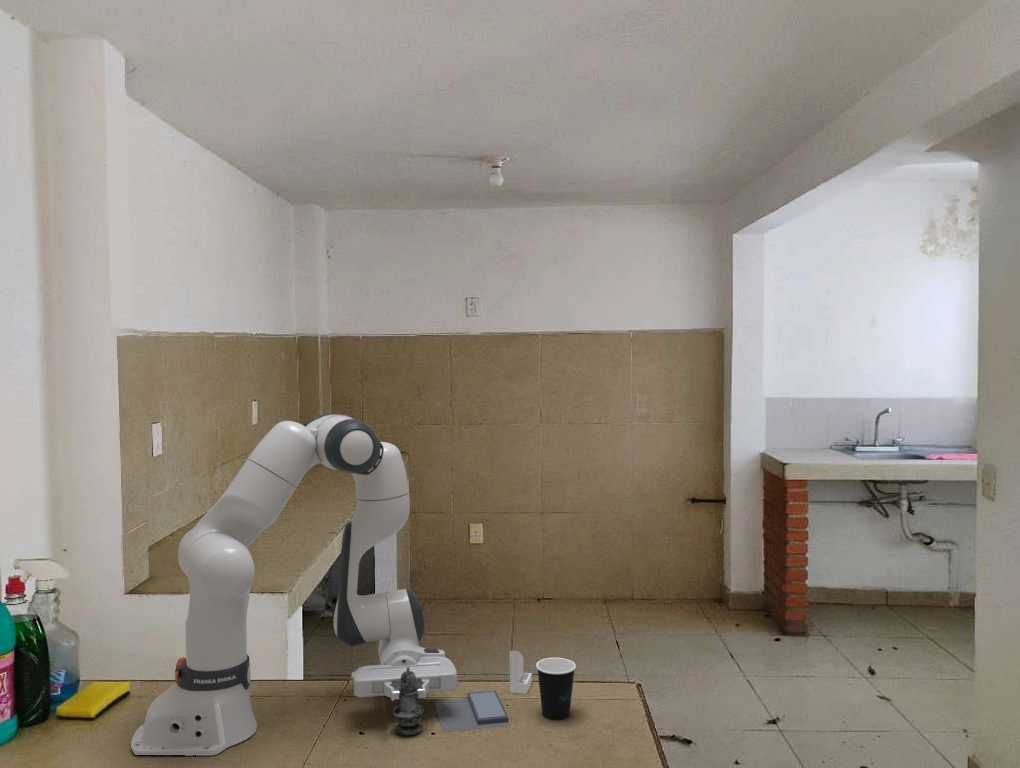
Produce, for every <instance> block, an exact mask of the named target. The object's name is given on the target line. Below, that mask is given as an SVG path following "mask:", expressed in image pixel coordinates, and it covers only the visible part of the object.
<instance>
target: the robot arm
mask: <svg viewBox="0 0 1020 768" xmlns="http://www.w3.org/2000/svg"><path fill="white" fill-rule="evenodd" d="M318 464H321V465H323V466H324V467H326V468H328V469H330V470H335V471H339V472H342V473H346V474H351V475H352V478H353V481H354V483H355V497H356V506H355V507H356V508H355V512H354V515H353V517H352V519H351V520H350V521H349V522H348V523H346V524H345V525H344V529H343V532H342V536H341V537H342V539H341V549H340V557H339V572H338V573H339V574H338V587H337V588H338V589H337V590H338V591H337V601H336V605H335V610H334V612H333V613H334V614H333V629H334V633H335V635H336V636H335V637H336V638H337V639H338V640H339V641H341V642H342V643H343V644H345V645H347V646H349V647H356V646H361V645H364V644H367V643H370V642H374V641H375V642H376V641H379V644H378V658H379V664H375V665H362V666H360V667H358V668H357V669H356V670H355V671H352V673H351V680H352V681H353V696H355V697H358V698H369V697H382V696H383V697H384V696H386V697H389V698H390V699H391V700H390V701H391V702H392V701H400V693H399V690H400V689H401V675H402V673H404V672H406V671H407V670H406V669H407V668H408V667H409V669H410V670H409V671H412V672H414V673H415V676H416V688H417V690H418V692H417V693H416V698H417V700H418V699H426V696H427V694H428V693H435V692H436V693H437V692H446V691H447V692H449V691H454V690H456V689H457V688H458V687H457V686H458V672H457V668H456V667H455V664H454V663H453V662H452V661H451V660H450V659H449V658H447V657H446V652H445V651H444V650H442V649H436V648H435V649H434V648H425V647H422V646H420V644H419V642H421V640H422V638H423V636H424V634H425V619H424V618H425V617H424V614H423V613H424V612H423V608H422V606H421V603H420V599H419V597H418V596H417V594H415V593H414V592H413V591H412V590H410V589H408V588H403V589H396V590H390V591H389V590H388V591H385V592H378V593H372V594H366V595H361V594H360V595H359V594H358V593H357V592H358V584H359V583H358V581H359V570H360V569H359V568H360V567H359V566H360V562H361V558H362V557H363V555H364V554H365V553H366V552H367V551H368V550H370V549H371V548H373V547H375V546H376V545H377V544H380V543H382V542H383V541H385V540H387V539H389V538H391V537H392V536H394V535H395V534H397V533H398V532H399V531H400V530H401V529H402V528H403V527H404V526H405V524H406V523H407V521H408V519H409V517H410V511H411V509H410V508H411V504H410V503H411V501H410V500H411V499H410V489H409V481H408V475H407V472H406V471H407V470H406V467H405V463H404V460H403V457H402V453H401V451H400V449H399V447H397V446H396V445H395V444H393V443H390V442H385V441H380V439H379V438H378V437H377V435H376V434H375V432H374V430H373V429H372V428H371V427H370V426H369V425H368V424H367V423H365V422H363V421H362V420H359V419H356V418H353V417H351V416H348V415H345V414H334V413H325V414H321V415H319V416H318V415H317V416H316V417H314V418H313V419H311V420H309V421H307V422H305V423H303V424H302V423H300V422H297V421H293V420H284V421H283V420H282V421H280V422H278V423H277V424H275V425H274V426H273V428H272V429H270V431H268V432H267V434H265V435H264V437H263V438H261V440H260V441H259V443H258V444H257V445H256V446H255V448H254V449H253V450H252V451H251V453H250V455H249V456H248V457H247V459H246V460H245V462H244V463H243V465H242V466H241V468H240V470H239V471H238V472H237V473H236V475H235V476H234V478H233V480H232V481H231V483H230V484H229V485H228V487H227V488H226V490H225V491H224V493H223V494H222V495H221V497H219V499H217V501H216V502H215V503H214V504H213V506H211V507H210V508H209V509H208V511H207V512H205V514H204V515H203V516H202V517H201V518H200V520H199V521H198V522H197V523H196V525H195V526H193V528H191V529H190V530H189V531H188V532H187V531H186V533H185V534H184V535H183V536H182V538H181V540H180V541H179V545H178V549H177V560H178V561H177V562H178V565H179V567H180V570H181V571H182V572H183V574H184V575H185V576H186V577H187V579H188V582H189V583H188V584H189V589H190V590H189V603H188V609H187V610H188V611H187V618H186V621H185V657H180V658H179V659H178V660H177V661H176V664H175V670H174V671H175V672H174V680H175V682H174V683H173V684H172V685H171V686H170V687H168V688H167V689H166V690H165V691H164V692H163V693H161V694H160V695H158V696H157V697H156V698H155V699H153V702H152V703H151V704H150V706H149V707H148V709H147V712H146V715H145V719H144V722H143V724H141V725H140V726H139V727H138V728H137V729H136V731H135V732H134V734H133V735H132V737H131V741H130V743H131V744H130V750H131V749H132V751H133V752H134V754H136V755H185V756H187V757H188V756H189V757H191V756H193V755H194V757H195V755H196V756H215V755H218V754H219V753H222V752H223V751H225V750H226V749H227V748H229V747H233V746H234V745H238V744H240V743H242V742H244V741H246V740H247V739H249V738H250V737H252V736H253V735H254V734H255V733H256V731H257V729H258V723H257V721H256V717H255V714H254V710H253V705H252V700H251V694H250V685H251V663H250V656H249V654H248V642H247V641H248V639H247V638H248V637H247V636H248V635H247V633H248V632H247V617H248V608H249V603H250V602H249V600H250V596H251V588H252V584H253V581H254V578H255V571H256V570H255V564H254V560H253V557H252V554H251V552H250V550H249V549H248V547H250V545H251V544H252V543H253V542H254V541H255V540H256V539H257V538H258V537H259V535H261V533H262V532H263V531H265V530H266V529H267V528H269V527H270V526H272V525H273V524H274V523H275V522H276V520H277V519H278V518H279V516H280V515H281V513H282V511H283V510H284V508H285V506H286V505H287V503H288V502H289V501H290V499H291V497H292V496H293V494H294V493H295V491H296V489H297V488H298V486H299V484H300V483H301V482H302V480H303V477H304V476H305V475H306V473H308V472H309V471H310V470H311V468H313V467H314V466H316V465H318ZM132 751H131V752H132ZM134 754H133V755H134Z"/></svg>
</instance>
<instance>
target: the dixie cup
mask: <svg viewBox="0 0 1020 768" xmlns="http://www.w3.org/2000/svg"><path fill="white" fill-rule="evenodd" d="M535 667H536V669H537V677H538V684H539V686H538V687H539V694H540V695H539V697H540V704H541V713H542V716H543V717H545V718H546V719H549V720H555V721H556V720H557V721H558V720H565V719H566V718H568V717H570V715H571V714H570V713H571V712H570V711H571V704H572V694H573V687H574V677H575V670H576V667H577V665H576V663H575V662H574V661H573V660H570V659H567V658H564V657H547V658H542V659H539V660H538V661H537V662H536V664H535Z"/></svg>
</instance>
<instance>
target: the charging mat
mask: <svg viewBox="0 0 1020 768" xmlns="http://www.w3.org/2000/svg"><path fill="white" fill-rule="evenodd" d="M433 702H434V703H433V704H434V706H435V710H436V713H437V715H438V720H439V724H440V727H441V730H442V733H449V732H451V733H452V732H458V731H462V732H463V731H470V730H482V729H491V728H500V727H509V726H510V725H511V724H510V723H509V722H510V721H508V722H503V723H493V724H483V725H478V724H477V721H476V719H475V716H474V713H473V711H472V708H471V705H470V703H469V700H468V698H467V697H463V698H455V699H445V700H444V699H443V700H435V701H433Z"/></svg>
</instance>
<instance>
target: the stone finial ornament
mask: <svg viewBox="0 0 1020 768" xmlns="http://www.w3.org/2000/svg"><path fill="white" fill-rule="evenodd" d="M406 670H407V671H406V672H404V673H402V675H401V689H400V690H399V693H400V694H399V701H400V702H399V705H398V706H395V707H394V708H393V710H392V714H393V716H394V718H395V721H396V722H397V723H398V724H397V725H395V727H394V732H395V733H397V734H398V735H400V736H401V735H402V736H413V735H416V734H418V733H420V732H422V730H423V725H422V724H421V723H420V721H421V719H422V717H423V713H424V711H425V709H424V707H423V706H422V705H419V704H418V702H417V692H418V690H417V688H416V676H415V673H414V672H412V671H409V670H410V669H409V667H408V668H407V669H406Z"/></svg>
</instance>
